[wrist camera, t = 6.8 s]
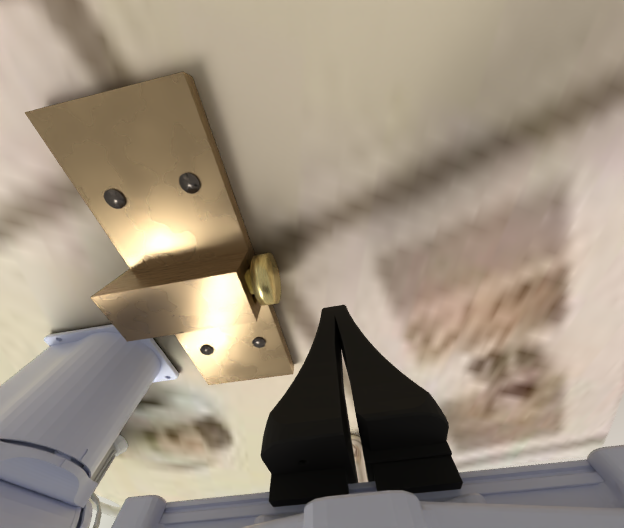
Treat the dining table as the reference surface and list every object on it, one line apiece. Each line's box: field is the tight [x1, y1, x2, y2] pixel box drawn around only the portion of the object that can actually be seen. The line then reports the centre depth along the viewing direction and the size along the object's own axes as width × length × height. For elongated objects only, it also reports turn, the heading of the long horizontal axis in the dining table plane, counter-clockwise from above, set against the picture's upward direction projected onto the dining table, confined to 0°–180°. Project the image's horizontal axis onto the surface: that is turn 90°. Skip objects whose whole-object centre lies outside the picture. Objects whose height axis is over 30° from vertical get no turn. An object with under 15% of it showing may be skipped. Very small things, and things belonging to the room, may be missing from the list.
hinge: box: [25, 72, 294, 385], centre depth 16 cm, size 10×24×4 cm, turn 11°
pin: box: [244, 253, 281, 306], centre depth 16 cm, size 10×4×4 cm, turn 101°
